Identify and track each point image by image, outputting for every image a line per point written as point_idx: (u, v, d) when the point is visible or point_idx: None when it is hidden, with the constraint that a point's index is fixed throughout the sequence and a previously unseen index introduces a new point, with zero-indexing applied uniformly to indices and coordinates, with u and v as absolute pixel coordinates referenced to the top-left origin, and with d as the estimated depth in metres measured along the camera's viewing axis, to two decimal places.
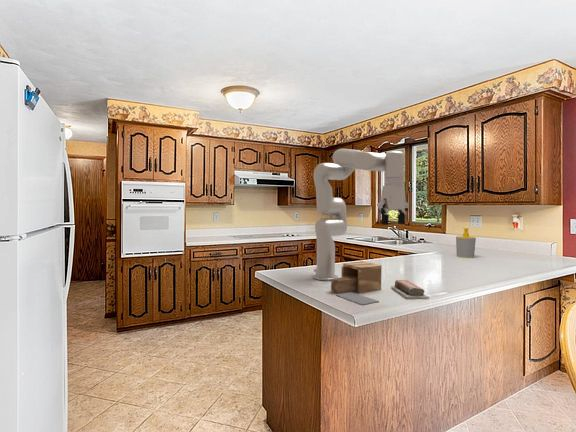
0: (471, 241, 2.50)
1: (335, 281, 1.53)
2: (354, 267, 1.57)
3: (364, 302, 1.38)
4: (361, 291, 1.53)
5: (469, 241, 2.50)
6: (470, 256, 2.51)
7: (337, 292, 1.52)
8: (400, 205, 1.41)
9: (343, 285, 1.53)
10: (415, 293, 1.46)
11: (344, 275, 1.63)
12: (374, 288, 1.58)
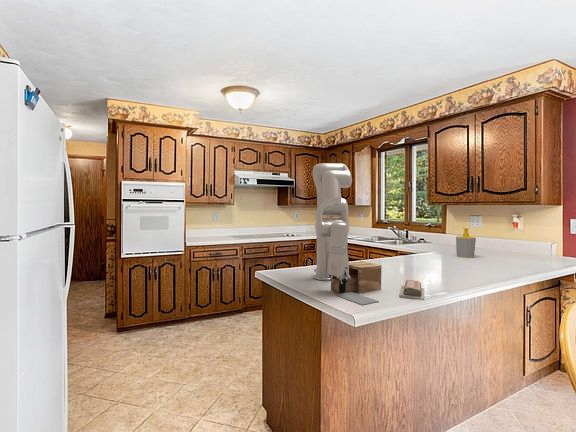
0: (471, 241, 2.50)
1: (335, 281, 1.53)
2: (354, 267, 1.57)
3: (364, 302, 1.38)
4: (361, 291, 1.53)
5: (469, 241, 2.50)
6: (470, 256, 2.51)
7: (337, 292, 1.52)
8: None
9: None
10: (410, 293, 1.47)
11: None
12: (374, 288, 1.58)
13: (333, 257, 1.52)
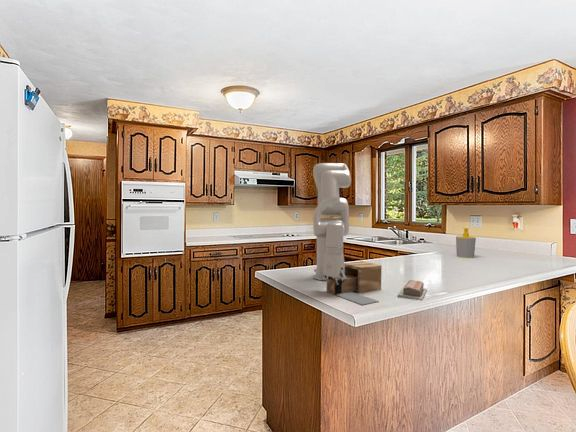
0: (471, 241, 2.50)
1: (331, 281, 1.52)
2: (354, 267, 1.57)
3: (364, 302, 1.38)
4: (361, 291, 1.53)
5: (469, 241, 2.50)
6: (470, 256, 2.51)
7: (333, 292, 1.51)
8: None
9: None
10: (409, 293, 1.47)
11: None
12: (374, 288, 1.58)
13: (329, 258, 1.51)
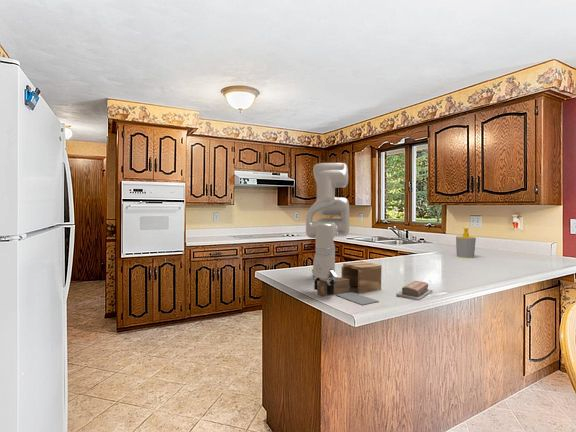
0: (471, 241, 2.50)
1: (321, 283, 1.49)
2: (354, 267, 1.57)
3: (364, 302, 1.38)
4: (361, 291, 1.53)
5: (469, 241, 2.50)
6: (470, 256, 2.51)
7: (323, 294, 1.48)
8: None
9: None
10: (408, 292, 1.47)
11: (344, 275, 1.63)
12: (374, 288, 1.58)
13: (319, 259, 1.48)
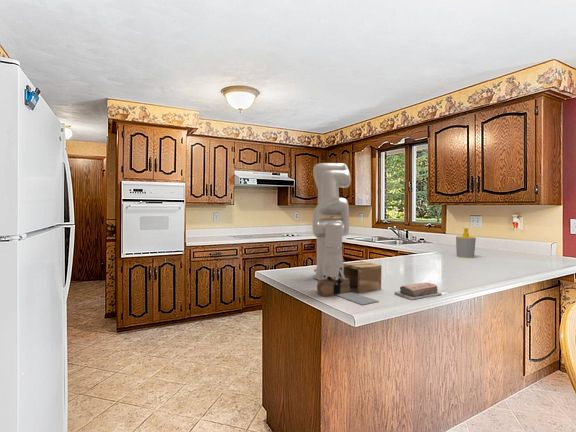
0: (471, 241, 2.50)
1: (321, 283, 1.49)
2: (354, 267, 1.57)
3: (364, 302, 1.38)
4: (361, 291, 1.53)
5: (469, 241, 2.50)
6: (470, 256, 2.51)
7: (323, 294, 1.48)
8: None
9: (329, 287, 1.49)
10: (405, 292, 1.48)
11: (344, 275, 1.63)
12: (374, 288, 1.58)
13: (328, 258, 1.51)
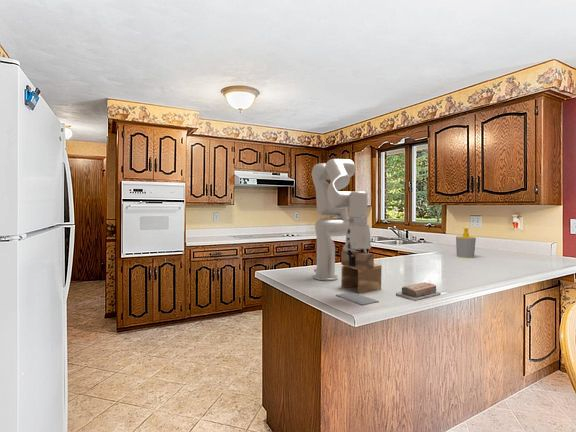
0: (471, 241, 2.50)
1: (370, 255, 1.38)
2: None
3: (364, 302, 1.38)
4: (361, 291, 1.53)
5: (469, 241, 2.50)
6: (470, 256, 2.51)
7: (372, 267, 1.39)
8: None
9: None
10: (407, 293, 1.47)
11: (344, 275, 1.63)
12: (374, 288, 1.58)
13: (362, 229, 1.41)
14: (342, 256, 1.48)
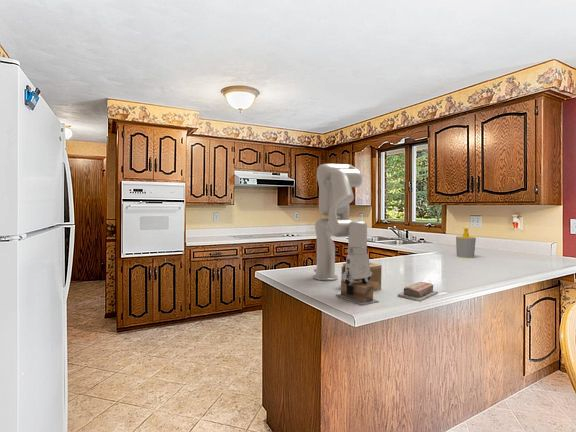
0: (471, 241, 2.50)
1: (369, 288, 1.39)
2: None
3: None
4: None
5: (469, 241, 2.50)
6: (470, 256, 2.51)
7: (371, 299, 1.40)
8: None
9: None
10: (409, 293, 1.46)
11: None
12: (374, 288, 1.58)
13: (362, 259, 1.41)
14: (341, 286, 1.49)
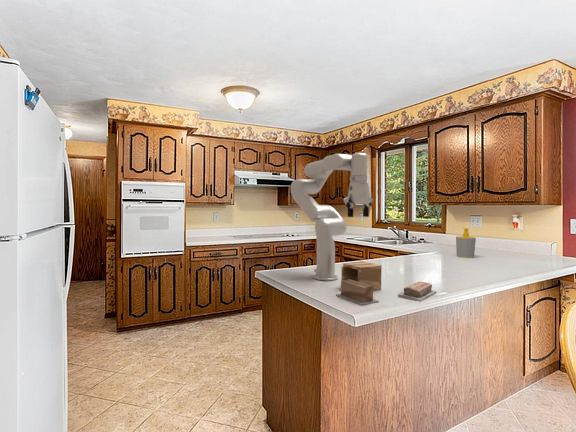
0: (471, 241, 2.50)
1: (369, 288, 1.39)
2: (354, 267, 1.57)
3: None
4: None
5: (469, 241, 2.50)
6: (470, 256, 2.51)
7: (371, 299, 1.40)
8: None
9: None
10: (410, 293, 1.46)
11: (344, 275, 1.63)
12: (374, 288, 1.58)
13: (362, 186, 1.60)
14: (341, 286, 1.49)
